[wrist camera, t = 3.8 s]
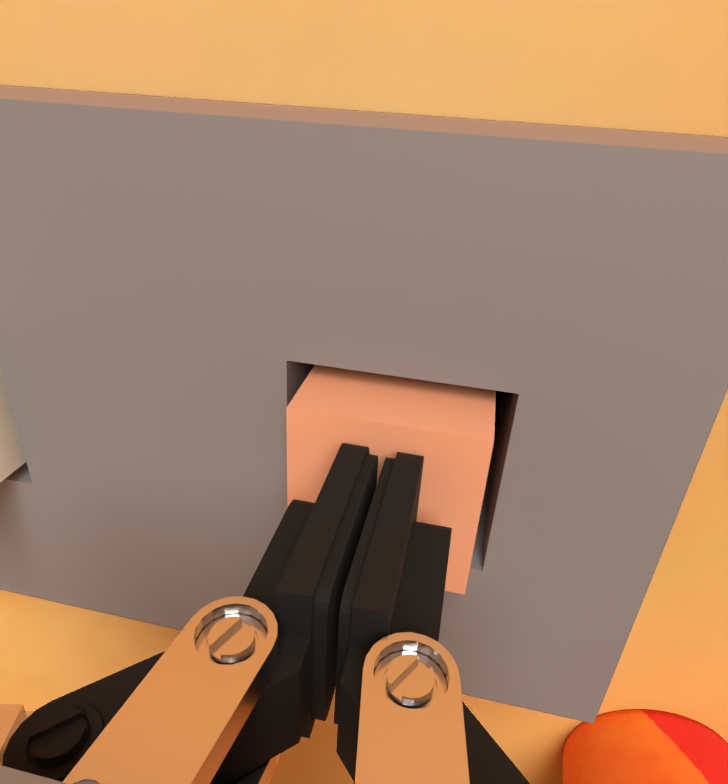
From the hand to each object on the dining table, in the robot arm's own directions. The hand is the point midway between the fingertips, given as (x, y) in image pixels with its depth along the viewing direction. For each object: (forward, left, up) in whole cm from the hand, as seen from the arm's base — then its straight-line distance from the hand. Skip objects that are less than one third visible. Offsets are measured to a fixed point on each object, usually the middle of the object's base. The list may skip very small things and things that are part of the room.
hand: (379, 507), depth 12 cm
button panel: (0, +6, -5) cm, 8 cm away
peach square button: (0, 0, -4) cm, 4 cm away
